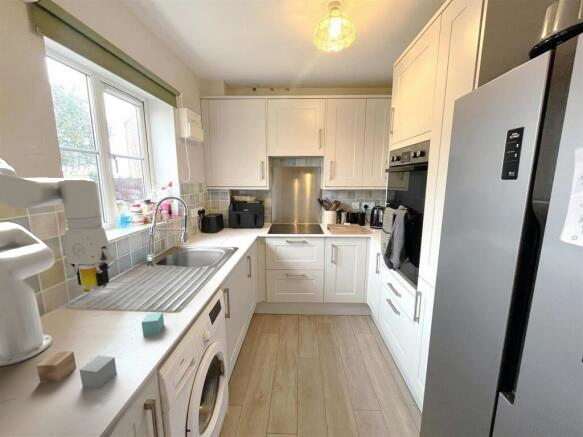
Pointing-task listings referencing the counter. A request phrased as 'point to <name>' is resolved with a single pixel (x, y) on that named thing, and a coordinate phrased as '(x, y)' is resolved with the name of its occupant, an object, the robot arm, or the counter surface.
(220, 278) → the counter surface
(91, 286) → the supplement bottle
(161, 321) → the teal block
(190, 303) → the counter surface
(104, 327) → the counter surface
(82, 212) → the robot arm
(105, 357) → the slate block
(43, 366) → the walnut block
